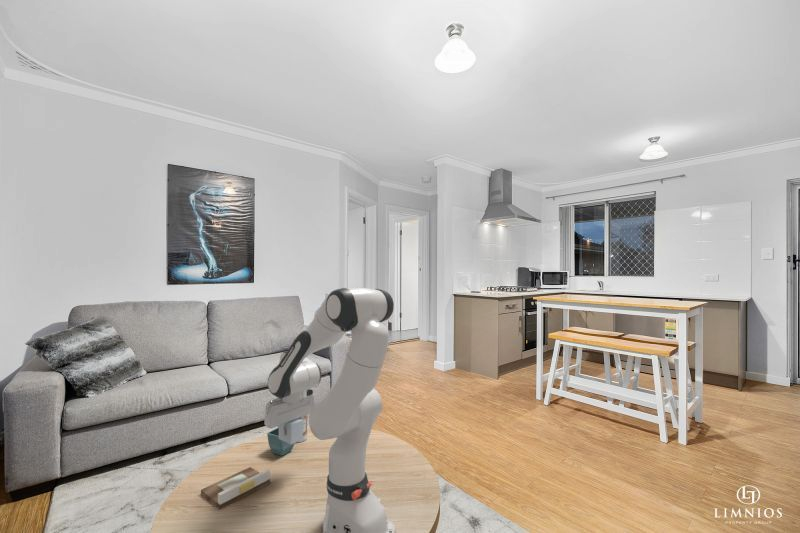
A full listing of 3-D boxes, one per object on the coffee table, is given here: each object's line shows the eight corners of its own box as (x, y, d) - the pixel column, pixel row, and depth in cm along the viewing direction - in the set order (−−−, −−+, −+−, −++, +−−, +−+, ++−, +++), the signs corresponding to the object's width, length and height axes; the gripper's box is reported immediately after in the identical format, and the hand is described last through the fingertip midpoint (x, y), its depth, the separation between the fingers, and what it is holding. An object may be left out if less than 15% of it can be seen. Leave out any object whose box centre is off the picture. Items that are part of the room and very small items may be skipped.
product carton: (290, 433, 136) (290, 415, 136) (303, 439, 132) (303, 419, 132) (278, 439, 132) (278, 419, 132) (291, 444, 127) (291, 424, 128)
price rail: (271, 479, 129) (271, 471, 129) (221, 505, 114) (221, 495, 114) (267, 477, 130) (267, 469, 130) (217, 502, 116) (217, 493, 116)
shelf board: (270, 483, 129) (270, 478, 129) (220, 509, 115) (220, 504, 115) (249, 471, 137) (250, 466, 137) (200, 494, 122) (200, 489, 122)
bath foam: (294, 444, 158) (294, 398, 159) (289, 438, 164) (289, 394, 164) (309, 440, 162) (309, 395, 162) (304, 434, 168) (304, 391, 168)
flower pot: (266, 454, 149) (266, 432, 149) (282, 445, 157) (282, 424, 157) (281, 459, 145) (281, 437, 145) (297, 450, 153) (297, 429, 153)
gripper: (271, 403, 122) (271, 444, 122) (318, 388, 138) (318, 424, 138) (260, 400, 126) (260, 440, 125) (307, 385, 142) (307, 420, 142)
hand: (291, 431), depth 132 cm, fingers closed on product carton, 5 cm apart
